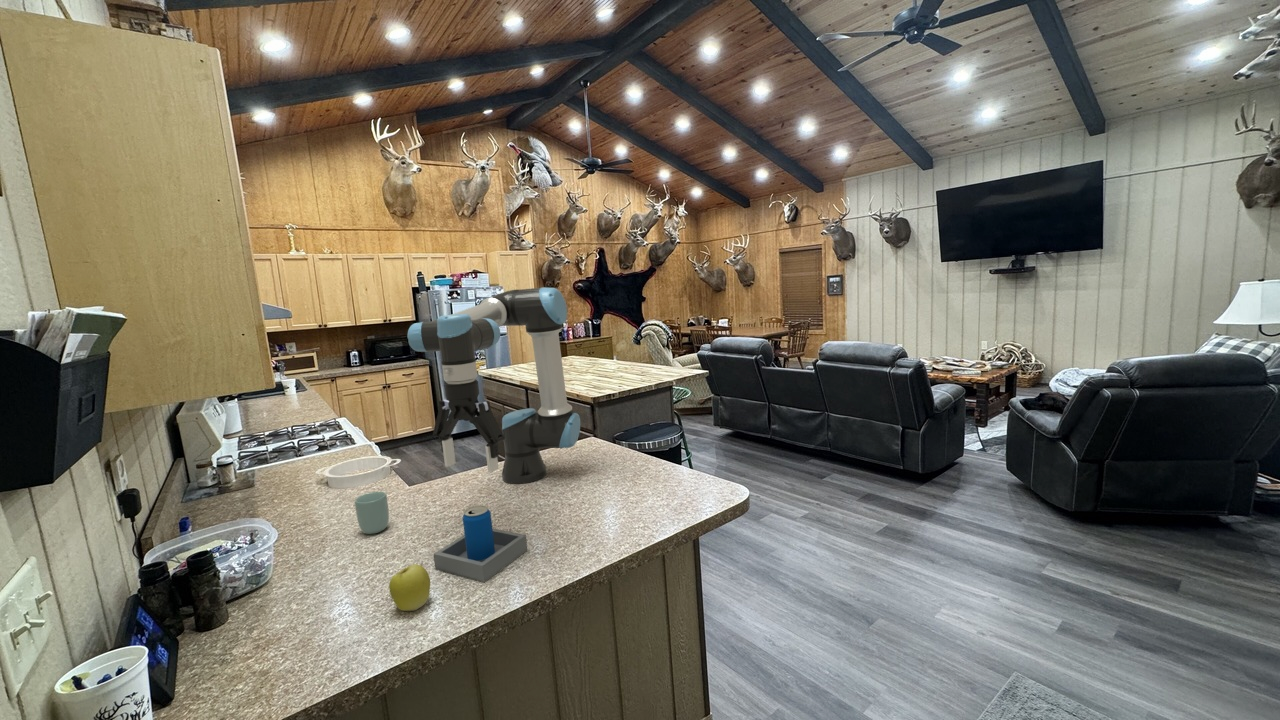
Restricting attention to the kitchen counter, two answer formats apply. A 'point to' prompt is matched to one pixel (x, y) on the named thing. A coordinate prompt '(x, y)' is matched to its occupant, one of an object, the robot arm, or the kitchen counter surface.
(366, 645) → the kitchen counter surface
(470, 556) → the beverage can
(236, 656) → the kitchen counter surface
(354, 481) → the oval baking dish
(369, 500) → the cup
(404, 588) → the apple
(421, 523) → the kitchen counter surface
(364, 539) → the kitchen counter surface
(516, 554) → the bin
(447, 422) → the robot arm
